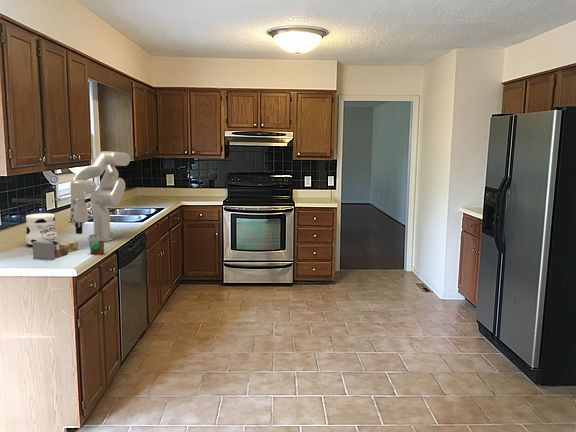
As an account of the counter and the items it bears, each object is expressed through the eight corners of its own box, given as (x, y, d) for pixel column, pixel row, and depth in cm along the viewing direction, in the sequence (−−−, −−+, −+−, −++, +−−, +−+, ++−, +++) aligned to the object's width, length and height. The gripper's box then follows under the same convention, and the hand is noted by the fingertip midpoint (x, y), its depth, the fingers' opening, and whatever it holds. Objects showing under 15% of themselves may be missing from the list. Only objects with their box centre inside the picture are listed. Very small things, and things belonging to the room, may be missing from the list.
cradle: (55, 252, 266) (55, 245, 265) (68, 253, 263) (67, 246, 263) (43, 256, 257) (42, 249, 256) (56, 257, 255) (55, 250, 254)
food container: (85, 252, 268) (84, 235, 266) (95, 250, 272) (95, 233, 271) (94, 256, 259) (93, 238, 258) (105, 254, 264) (104, 236, 262)
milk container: (53, 247, 279) (51, 217, 277) (21, 248, 276) (19, 217, 273) (61, 241, 296) (59, 212, 293) (31, 242, 293) (29, 213, 290)
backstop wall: (36, 257, 255) (35, 241, 253) (55, 259, 252) (53, 242, 250) (33, 258, 253) (32, 241, 251) (52, 260, 250) (51, 243, 248)
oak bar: (72, 249, 275) (71, 241, 274) (78, 250, 274) (78, 241, 273) (59, 253, 266) (58, 244, 265) (65, 253, 265) (65, 245, 264)
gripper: (74, 203, 267) (75, 236, 269) (92, 201, 281) (93, 232, 283) (63, 203, 269) (64, 235, 271) (81, 201, 283) (82, 231, 285)
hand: (79, 233), depth 277 cm, fingers closed
